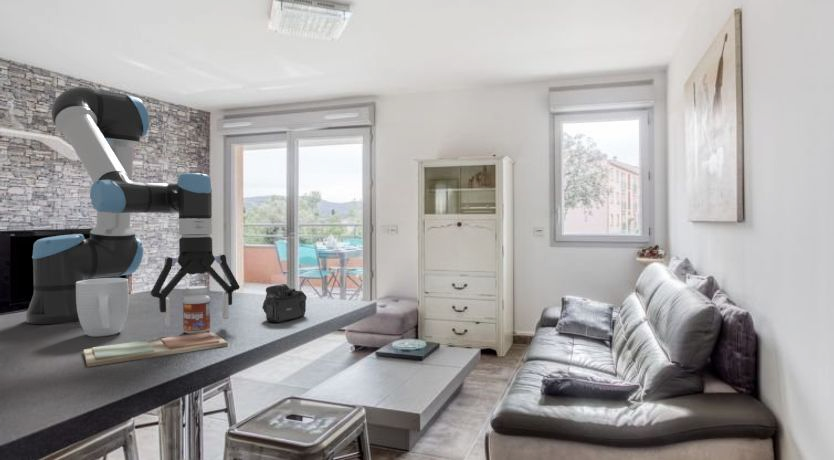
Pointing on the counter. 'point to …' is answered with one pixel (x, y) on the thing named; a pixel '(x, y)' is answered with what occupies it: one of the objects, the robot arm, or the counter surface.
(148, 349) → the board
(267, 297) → the camera
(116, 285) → the mug
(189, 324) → the pill bottle
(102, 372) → the counter surface
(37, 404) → the counter surface
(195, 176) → the robot arm
